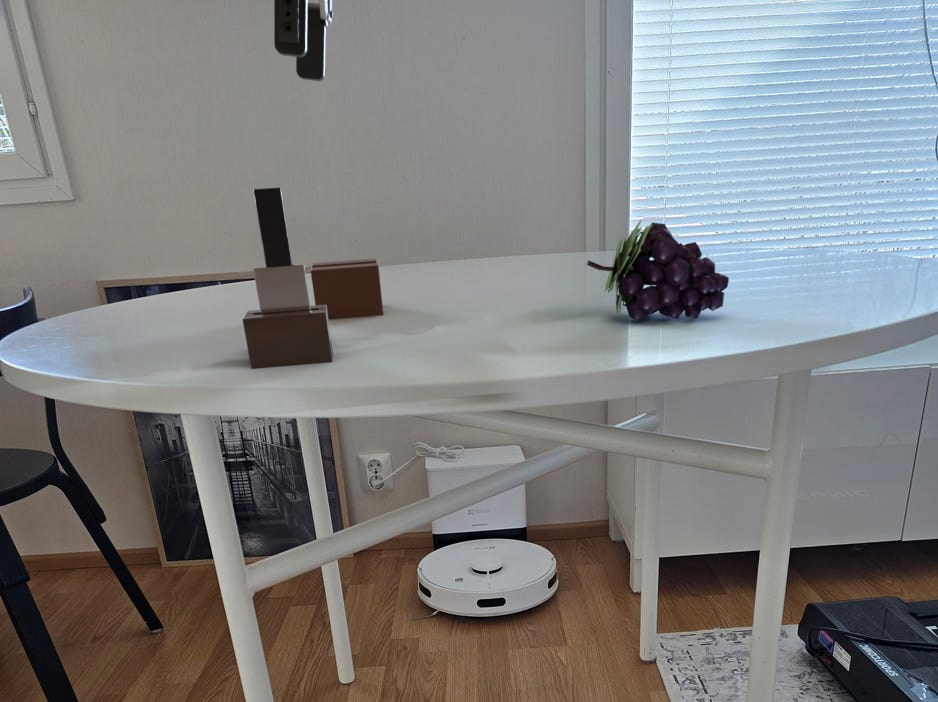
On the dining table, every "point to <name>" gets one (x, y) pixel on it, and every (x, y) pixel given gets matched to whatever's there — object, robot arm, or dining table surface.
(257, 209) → the knife
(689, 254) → the fruit
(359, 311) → the slotted brown box
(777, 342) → the dining table surface
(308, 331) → the knife block
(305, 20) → the robot arm
